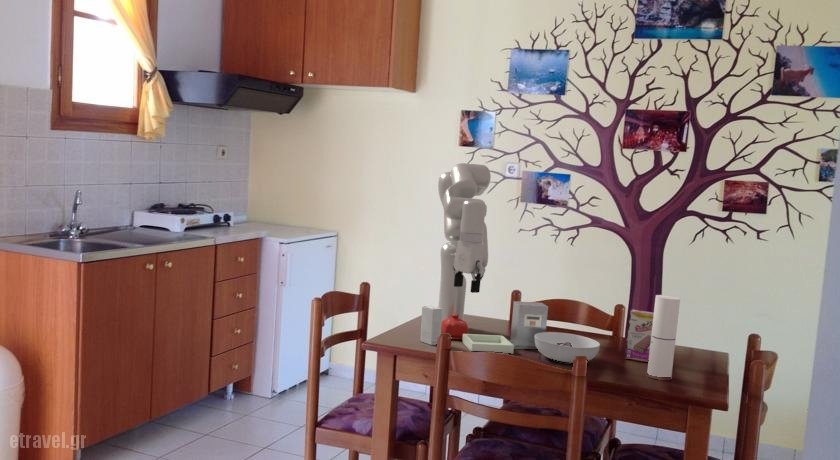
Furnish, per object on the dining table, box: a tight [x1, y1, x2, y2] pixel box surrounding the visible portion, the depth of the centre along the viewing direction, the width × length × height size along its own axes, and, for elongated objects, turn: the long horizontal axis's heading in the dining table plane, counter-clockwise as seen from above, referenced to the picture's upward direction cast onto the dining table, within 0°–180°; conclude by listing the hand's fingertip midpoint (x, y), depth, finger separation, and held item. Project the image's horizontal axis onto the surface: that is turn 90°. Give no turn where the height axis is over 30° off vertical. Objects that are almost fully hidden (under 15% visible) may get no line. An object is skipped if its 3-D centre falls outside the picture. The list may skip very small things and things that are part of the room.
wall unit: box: [507, 300, 549, 350], centre depth 260 cm, size 9×12×15 cm
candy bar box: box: [624, 309, 654, 360], centre depth 254 cm, size 11×5×16 cm, turn 71°
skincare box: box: [420, 305, 442, 346], centre depth 254 cm, size 6×4×12 cm
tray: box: [462, 333, 515, 355], centre depth 255 cm, size 14×14×3 cm
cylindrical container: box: [646, 294, 681, 378], centre depth 233 cm, size 7×7×25 cm
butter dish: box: [441, 314, 469, 341], centre depth 266 cm, size 12×12×8 cm
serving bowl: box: [534, 331, 601, 364], centre depth 246 cm, size 21×21×7 cm
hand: (466, 289), depth 252 cm, fingers open, 9 cm apart
